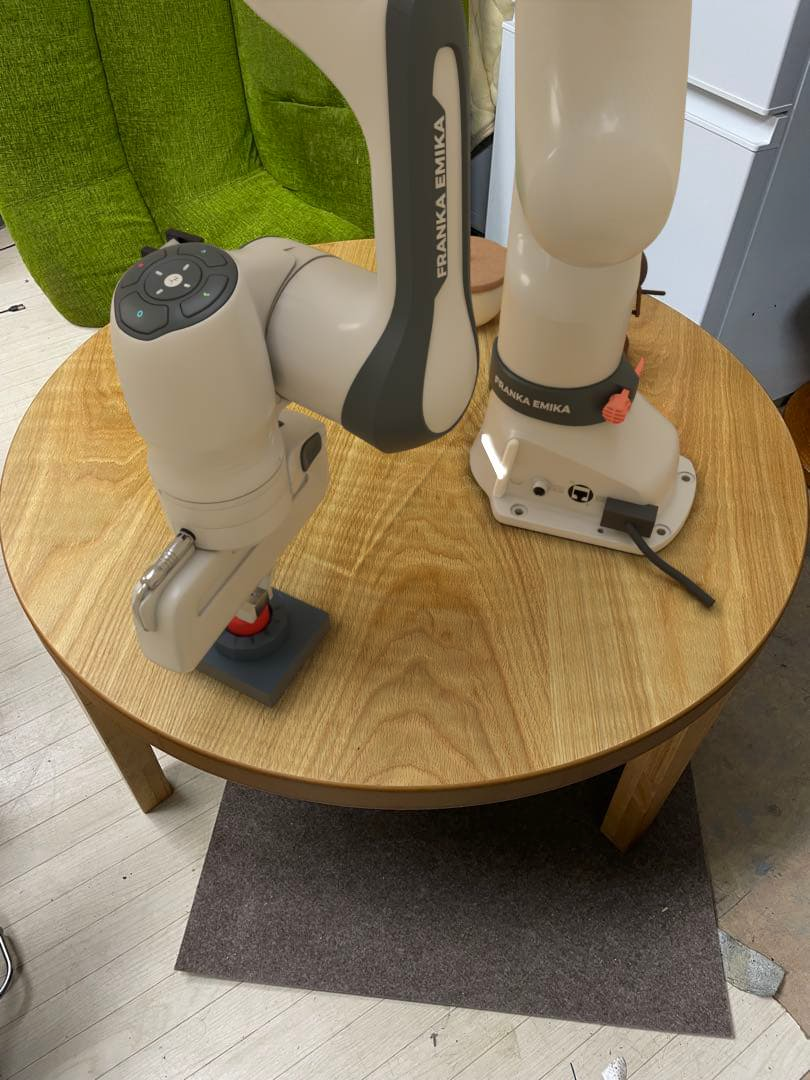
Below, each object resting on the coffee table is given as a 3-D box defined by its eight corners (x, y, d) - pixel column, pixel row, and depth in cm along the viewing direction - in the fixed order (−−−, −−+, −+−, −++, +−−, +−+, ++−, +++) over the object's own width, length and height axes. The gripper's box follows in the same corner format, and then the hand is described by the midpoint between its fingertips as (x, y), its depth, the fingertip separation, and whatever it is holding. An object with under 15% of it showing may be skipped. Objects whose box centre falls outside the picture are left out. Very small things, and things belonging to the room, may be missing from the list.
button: (278, 611, 72) (275, 598, 70) (253, 643, 70) (250, 630, 68) (242, 594, 73) (239, 581, 71) (216, 625, 71) (213, 613, 69)
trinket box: (509, 344, 101) (517, 273, 94) (417, 343, 101) (418, 272, 94) (504, 292, 108) (511, 222, 101) (418, 291, 108) (419, 221, 101)
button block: (331, 627, 75) (328, 600, 72) (272, 708, 70) (266, 682, 67) (236, 584, 78) (229, 555, 75) (173, 658, 73) (163, 631, 70)
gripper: (170, 615, 52) (212, 728, 62) (338, 410, 63) (350, 534, 74) (86, 579, 53) (142, 695, 64) (265, 387, 65) (286, 511, 76)
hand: (254, 607), depth 69 cm, fingers closed
